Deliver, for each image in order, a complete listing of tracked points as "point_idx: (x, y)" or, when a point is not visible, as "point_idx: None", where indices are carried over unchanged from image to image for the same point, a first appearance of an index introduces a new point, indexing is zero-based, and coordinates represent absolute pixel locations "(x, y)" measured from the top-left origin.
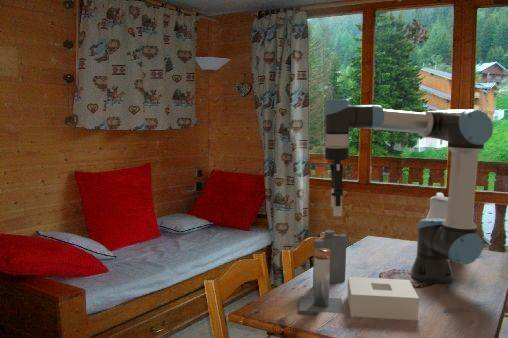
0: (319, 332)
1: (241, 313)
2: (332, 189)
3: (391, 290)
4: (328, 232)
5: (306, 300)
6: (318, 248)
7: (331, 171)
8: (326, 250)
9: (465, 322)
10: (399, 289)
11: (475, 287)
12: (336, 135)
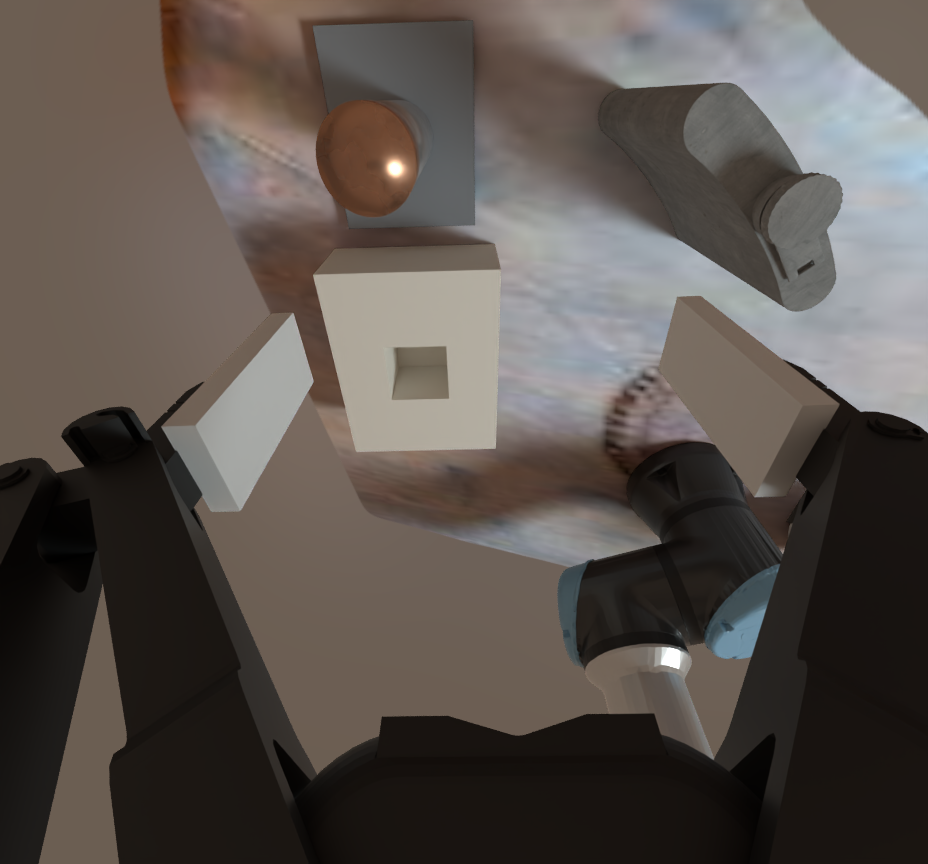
0: (192, 134)
1: None
2: (786, 412)
3: (412, 395)
4: (775, 206)
5: (428, 61)
6: (394, 131)
7: (769, 827)
8: (364, 191)
9: (404, 489)
10: (407, 417)
11: (600, 538)
12: None
